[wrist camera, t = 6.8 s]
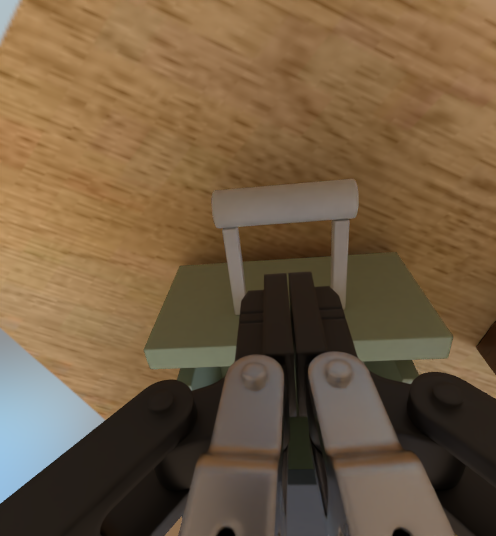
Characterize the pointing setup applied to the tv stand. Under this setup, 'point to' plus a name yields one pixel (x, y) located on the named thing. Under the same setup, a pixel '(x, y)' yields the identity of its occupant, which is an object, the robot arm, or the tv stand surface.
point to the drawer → (252, 278)
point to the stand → (489, 347)
